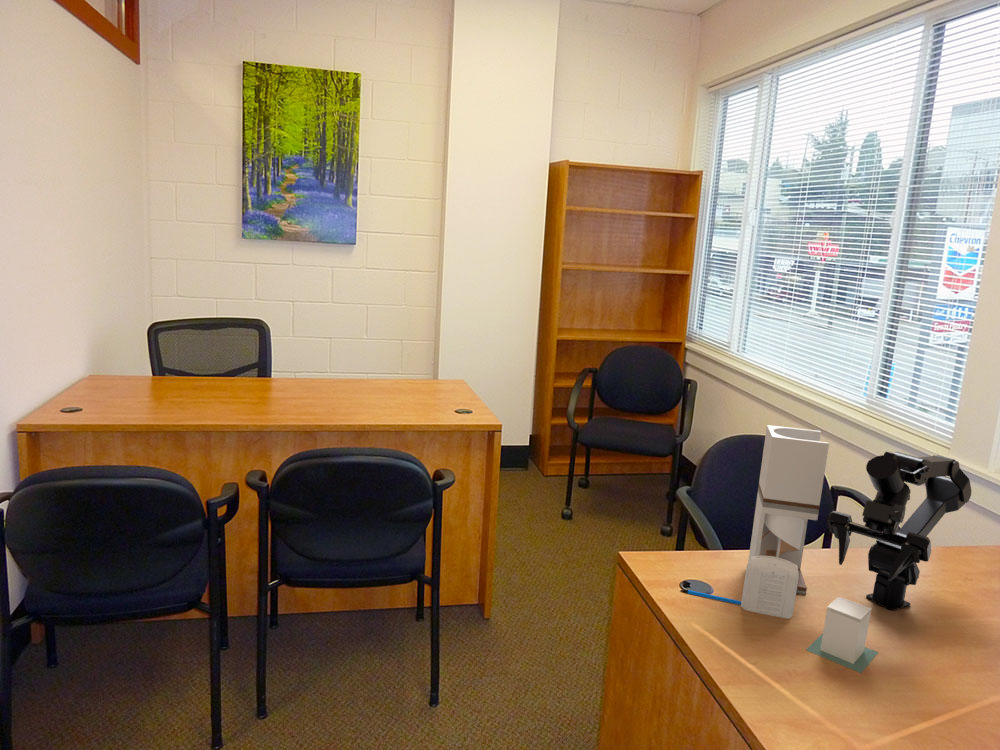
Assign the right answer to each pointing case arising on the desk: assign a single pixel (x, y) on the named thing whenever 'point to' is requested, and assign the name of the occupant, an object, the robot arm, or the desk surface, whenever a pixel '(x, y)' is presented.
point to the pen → (711, 596)
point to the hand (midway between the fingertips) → (864, 571)
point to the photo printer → (770, 586)
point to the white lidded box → (845, 629)
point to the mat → (857, 666)
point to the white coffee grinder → (788, 493)
